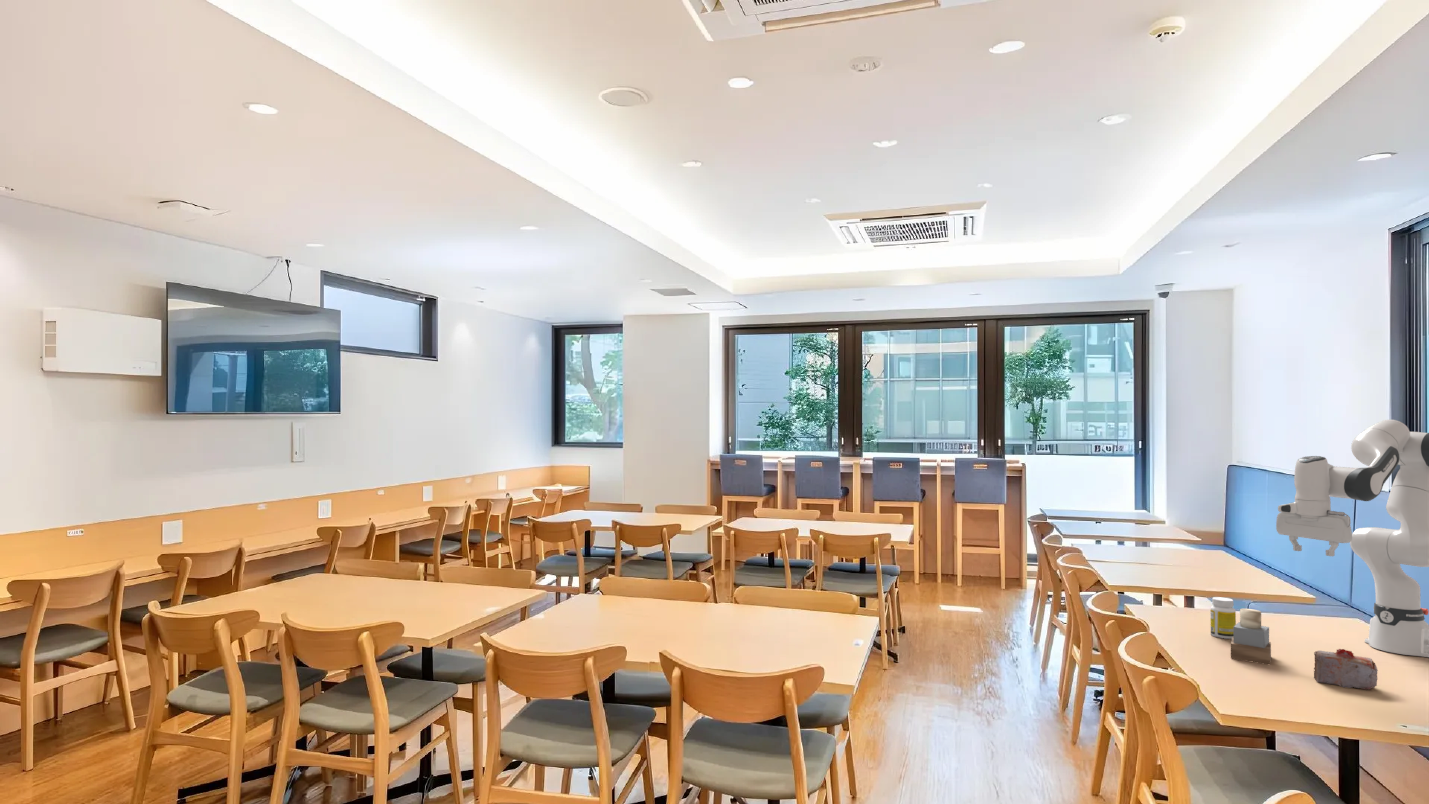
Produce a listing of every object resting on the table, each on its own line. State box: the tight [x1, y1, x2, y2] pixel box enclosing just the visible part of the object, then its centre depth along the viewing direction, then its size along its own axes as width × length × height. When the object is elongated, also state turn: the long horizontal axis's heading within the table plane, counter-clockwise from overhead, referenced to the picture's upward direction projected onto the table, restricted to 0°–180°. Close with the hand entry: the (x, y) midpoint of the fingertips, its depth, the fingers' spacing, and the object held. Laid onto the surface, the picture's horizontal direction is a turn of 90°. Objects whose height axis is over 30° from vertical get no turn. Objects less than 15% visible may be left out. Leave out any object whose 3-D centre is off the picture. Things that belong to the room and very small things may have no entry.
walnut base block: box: [1230, 637, 1272, 665], centre depth 243 cm, size 10×10×5 cm
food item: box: [1313, 648, 1379, 690], centre depth 219 cm, size 14×8×10 cm, turn 58°
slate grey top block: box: [1233, 621, 1270, 648], centre depth 243 cm, size 8×8×5 cm
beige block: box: [1239, 608, 1262, 629], centre depth 244 cm, size 6×6×5 cm
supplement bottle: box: [1209, 596, 1237, 640], centre depth 267 cm, size 7×7×13 cm
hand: (1313, 553), depth 241 cm, fingers open, 8 cm apart
